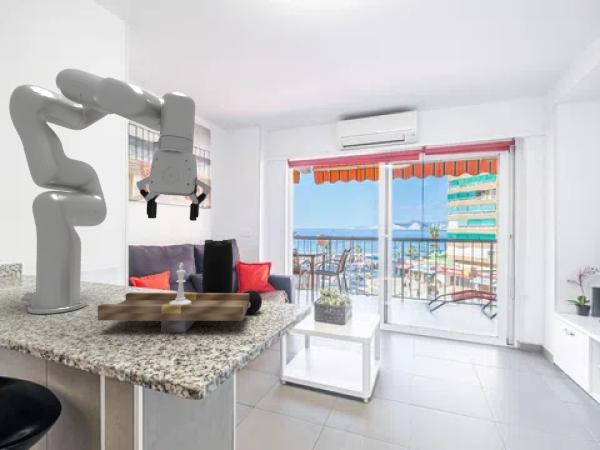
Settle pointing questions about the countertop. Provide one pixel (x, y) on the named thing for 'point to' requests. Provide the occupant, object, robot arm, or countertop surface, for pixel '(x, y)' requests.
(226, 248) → the portable speaker
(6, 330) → the countertop surface
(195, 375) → the countertop surface
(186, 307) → the beam
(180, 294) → the chess piece
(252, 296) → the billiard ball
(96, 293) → the countertop surface
